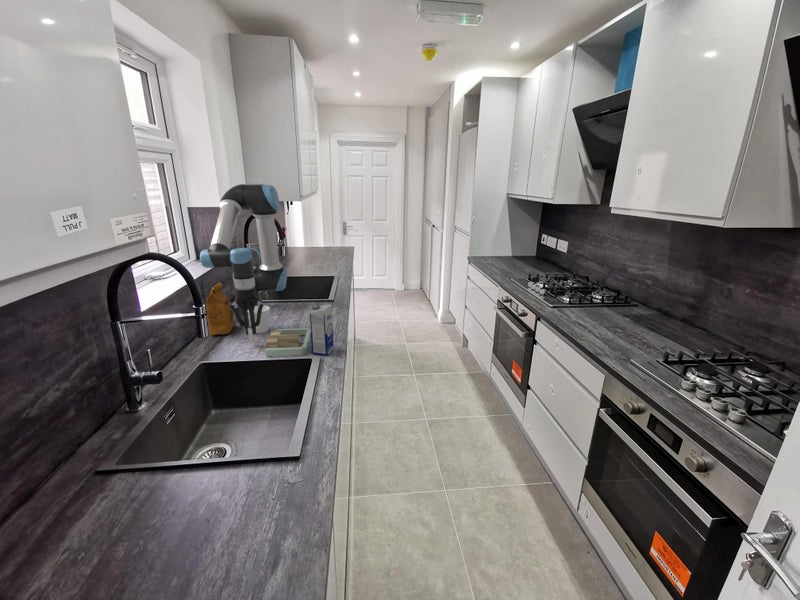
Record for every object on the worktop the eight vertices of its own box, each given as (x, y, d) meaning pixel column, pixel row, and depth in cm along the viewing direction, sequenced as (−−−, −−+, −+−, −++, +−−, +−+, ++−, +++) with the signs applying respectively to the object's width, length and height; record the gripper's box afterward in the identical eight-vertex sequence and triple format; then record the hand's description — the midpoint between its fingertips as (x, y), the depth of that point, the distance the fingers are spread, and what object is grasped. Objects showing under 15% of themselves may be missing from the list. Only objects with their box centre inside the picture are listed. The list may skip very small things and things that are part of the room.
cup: (276, 327, 170) (273, 305, 166) (266, 336, 160) (264, 313, 157) (256, 326, 170) (253, 304, 167) (245, 334, 161) (242, 312, 158)
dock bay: (276, 335, 161) (276, 329, 160) (311, 334, 163) (311, 328, 162) (266, 357, 141) (265, 350, 140) (306, 355, 143) (305, 348, 142)
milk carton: (327, 356, 143) (324, 309, 136) (311, 354, 144) (308, 308, 138) (334, 348, 149) (331, 303, 143) (318, 347, 151) (316, 302, 144)
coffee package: (238, 325, 171) (232, 281, 164) (229, 336, 160) (222, 289, 153) (216, 326, 170) (209, 281, 163) (206, 336, 159) (198, 289, 152)
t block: (272, 339, 157) (271, 331, 156) (300, 338, 158) (300, 330, 157) (266, 352, 146) (265, 343, 144) (296, 350, 147) (296, 342, 146)
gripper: (225, 290, 138) (233, 345, 145) (260, 289, 140) (266, 344, 147) (230, 285, 145) (238, 338, 152) (264, 284, 147) (270, 336, 154)
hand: (252, 341), depth 150 cm, fingers closed
